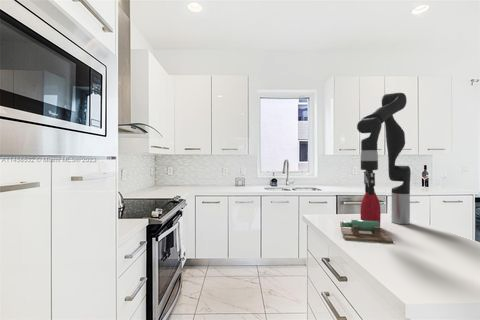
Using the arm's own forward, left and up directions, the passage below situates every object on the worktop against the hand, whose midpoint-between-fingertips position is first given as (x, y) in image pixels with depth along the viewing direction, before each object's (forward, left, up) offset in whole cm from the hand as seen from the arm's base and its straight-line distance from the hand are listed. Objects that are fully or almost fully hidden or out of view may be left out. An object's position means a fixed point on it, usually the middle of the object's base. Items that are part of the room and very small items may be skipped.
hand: (369, 193), depth 131 cm
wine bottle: (-19, +4, -21) cm, 28 cm away
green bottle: (+1, -4, -18) cm, 18 cm away
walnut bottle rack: (+1, -2, -20) cm, 20 cm away
